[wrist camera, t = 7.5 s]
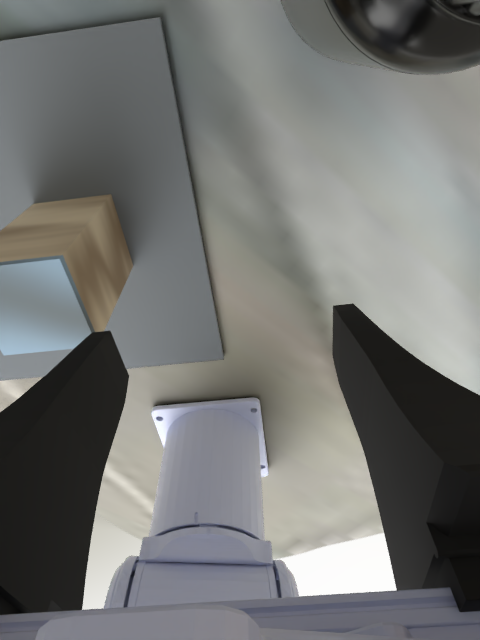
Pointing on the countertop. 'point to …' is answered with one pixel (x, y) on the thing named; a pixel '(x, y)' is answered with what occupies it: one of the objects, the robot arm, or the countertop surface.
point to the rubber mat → (111, 179)
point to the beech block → (60, 274)
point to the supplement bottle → (391, 32)
